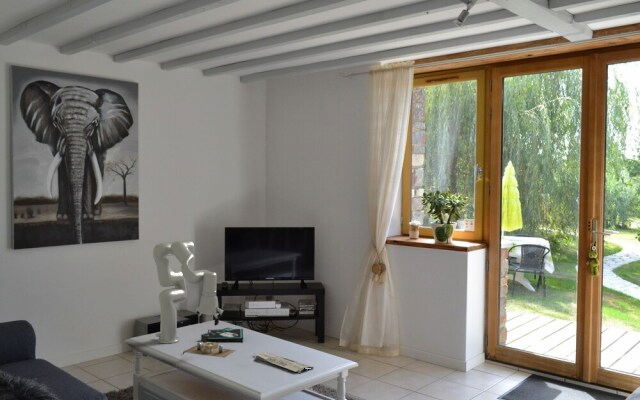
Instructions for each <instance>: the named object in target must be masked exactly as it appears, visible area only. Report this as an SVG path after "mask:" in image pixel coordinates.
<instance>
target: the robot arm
mask: <svg viewBox="0 0 640 400" xmlns="http://www.w3.org/2000/svg"><path fill="white" fill-rule="evenodd" d="M194 251H195V244H194V242H193V241H191V240H189V239H185V240H177V241H176V240H175V241H164V242H163V241H162V242H159V243H156V245H155V246H154V247H153V250H152V257H153V259H154V262H155V265H156V270H157V277H158V282H159V285H160V286H161V287H162V288H166V289H164V290H161V291H160V293H158V294H159V295H158V300H159V307H160V308H159V309H160V330H159V331H160V332H156V333H155V337H156V338H157V337H158V339H157V342H158V343H159V344H173V343H178V342H179V341H180V338H179V337H177V333H178V331H177V328H178V327H177V325H178V324H177V322H178V321H177V318H178V313H177V312H178V311H177V308H176V307H175V304H182V303H184V302H186V300H187V299H188V288H187V284H186V282H187V283H188V284H189V285H193V286H194V285H199V284H202V291H200V293H201V294H202V295H201V296H200V299H199V300H200V301H199V306H196V307H195V312H196V314H197V316H198V322H199V324H203V323H204V315H206V316H207V315H208V316H214V326H215V327H216V326H218V325H219V323H220V321H219V320H220V318H221V316H222V315H223V313H224V310H223V309H221V308H219V299H218V296H217V283H218V282H217V281H218V279H217V278H218V277H217V276H218V275H217V272H214V271H210V270H209V269H199V270H198V269H197V270H192V269H191V268H190V266H191V265H193V263H194V262H195V259H196V258H195V255H194V254H193V253H194ZM173 256H174V257H175V258H176V259H177V260H178V262H179V263H180V264H181V267H180V269H173V268H172V264H171V261H170V260H169V259H168V257H173ZM169 287H172V288H169Z"/></svg>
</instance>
